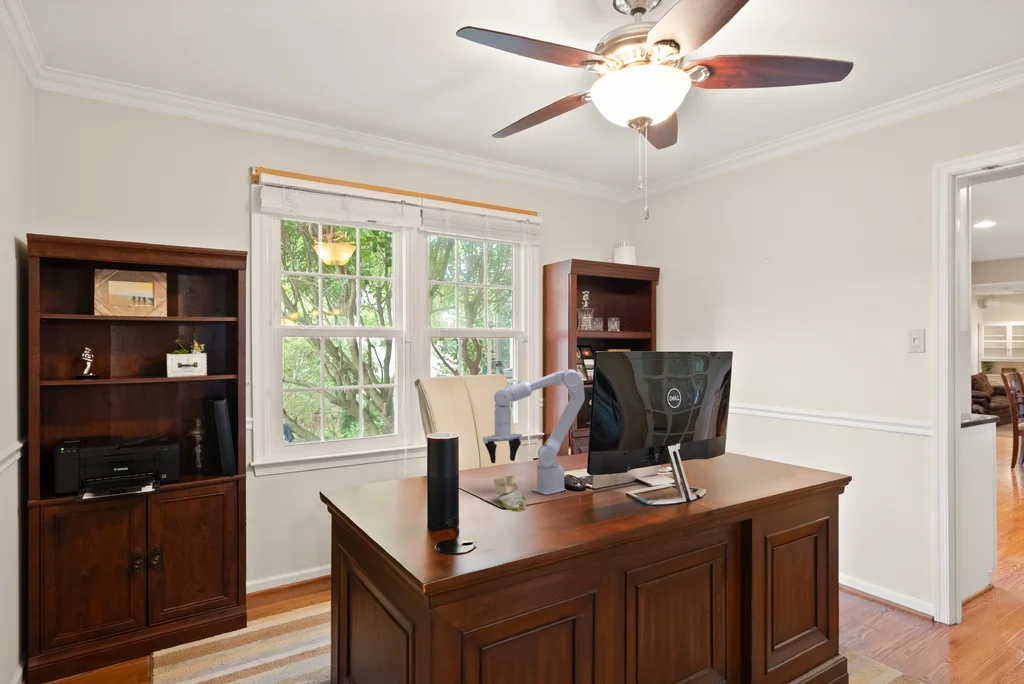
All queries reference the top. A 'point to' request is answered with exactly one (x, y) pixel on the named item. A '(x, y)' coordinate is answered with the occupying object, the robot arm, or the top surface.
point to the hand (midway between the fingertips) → (502, 461)
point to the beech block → (505, 484)
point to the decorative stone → (512, 501)
